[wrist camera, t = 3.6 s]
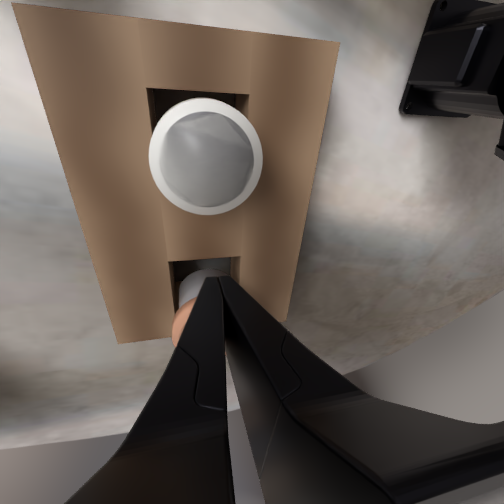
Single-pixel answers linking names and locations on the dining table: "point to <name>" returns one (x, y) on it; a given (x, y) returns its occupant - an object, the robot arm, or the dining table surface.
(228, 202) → the plug
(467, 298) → the dining table surface
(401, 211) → the dining table surface
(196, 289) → the plug
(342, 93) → the dining table surface
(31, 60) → the wooden socket block
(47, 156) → the dining table surface
